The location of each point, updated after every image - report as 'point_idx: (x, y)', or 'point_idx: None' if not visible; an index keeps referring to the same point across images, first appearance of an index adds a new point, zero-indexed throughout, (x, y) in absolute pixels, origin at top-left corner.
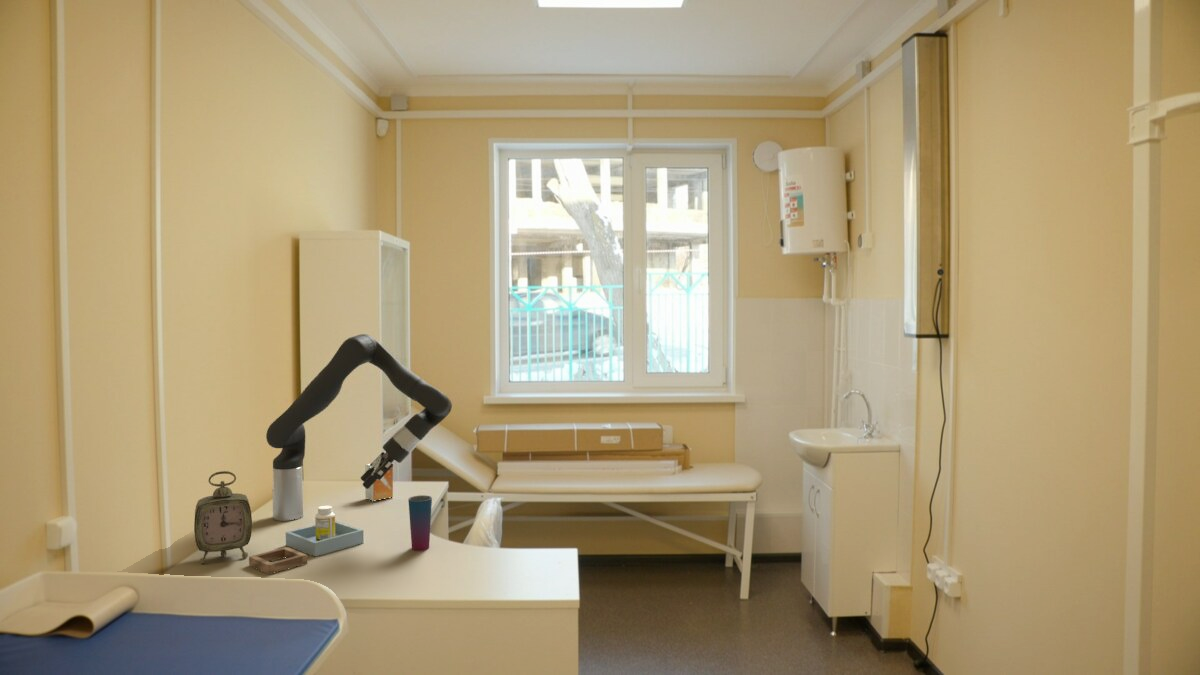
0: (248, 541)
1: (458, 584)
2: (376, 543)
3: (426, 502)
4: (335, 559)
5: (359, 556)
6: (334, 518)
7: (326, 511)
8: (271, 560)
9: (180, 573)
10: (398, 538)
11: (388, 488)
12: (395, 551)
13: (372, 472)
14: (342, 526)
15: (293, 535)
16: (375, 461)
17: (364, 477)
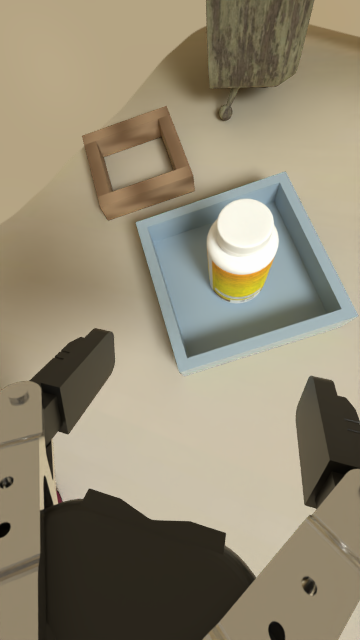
0: (209, 82)
1: None
2: (160, 409)
3: None
4: (98, 278)
5: (82, 333)
6: (223, 274)
7: (216, 229)
8: (170, 159)
9: (197, 31)
10: (169, 491)
11: None
12: None
13: (317, 495)
14: (278, 329)
15: (243, 186)
16: (258, 580)
17: (307, 406)
